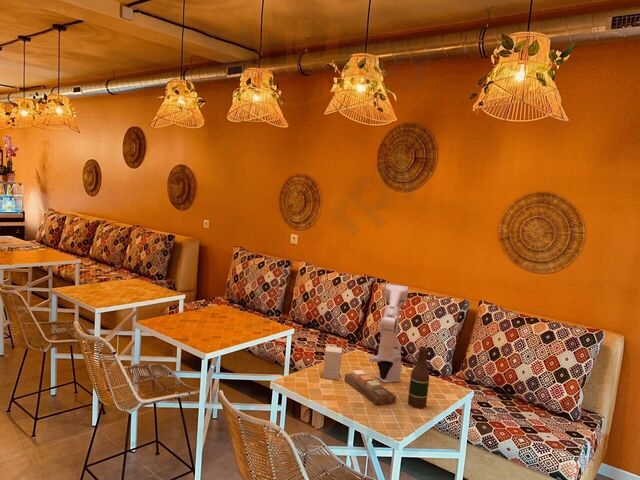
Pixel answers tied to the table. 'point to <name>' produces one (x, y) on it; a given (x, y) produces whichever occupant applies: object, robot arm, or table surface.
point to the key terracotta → (365, 379)
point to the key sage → (373, 385)
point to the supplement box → (332, 362)
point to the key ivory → (358, 374)
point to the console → (370, 392)
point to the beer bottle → (419, 381)
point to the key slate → (381, 393)
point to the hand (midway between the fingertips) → (382, 378)
